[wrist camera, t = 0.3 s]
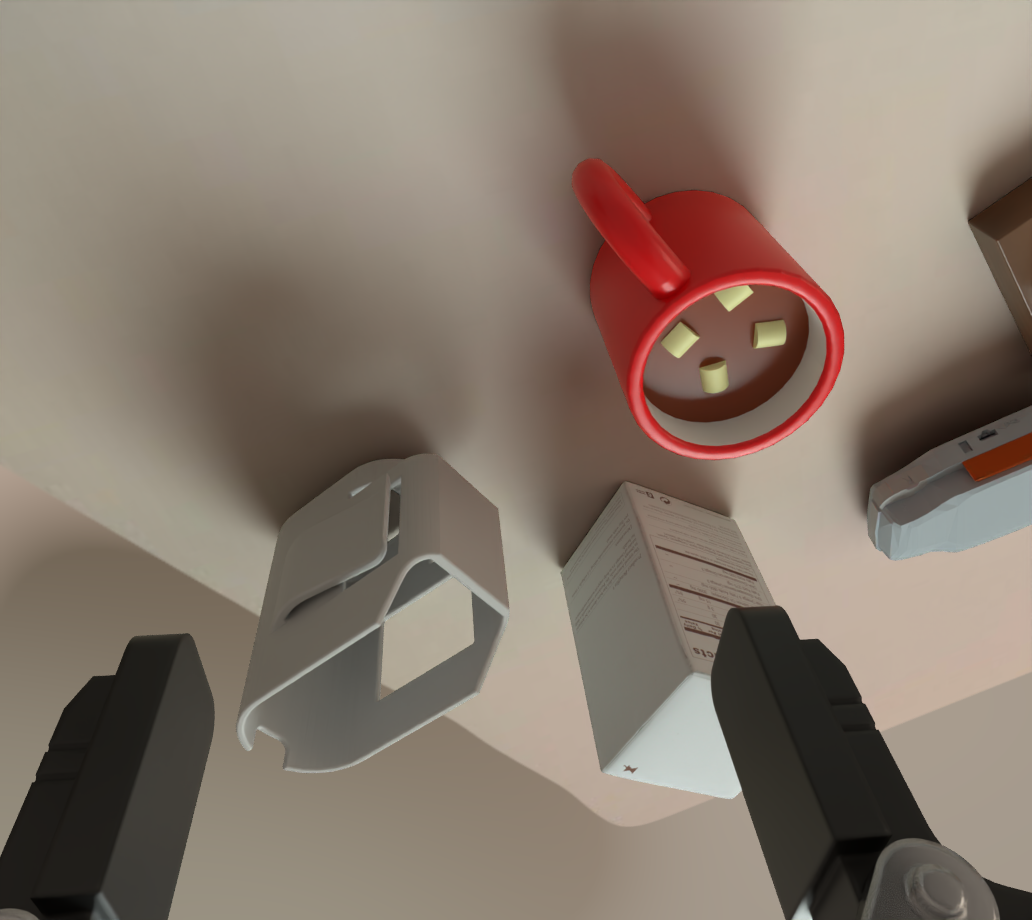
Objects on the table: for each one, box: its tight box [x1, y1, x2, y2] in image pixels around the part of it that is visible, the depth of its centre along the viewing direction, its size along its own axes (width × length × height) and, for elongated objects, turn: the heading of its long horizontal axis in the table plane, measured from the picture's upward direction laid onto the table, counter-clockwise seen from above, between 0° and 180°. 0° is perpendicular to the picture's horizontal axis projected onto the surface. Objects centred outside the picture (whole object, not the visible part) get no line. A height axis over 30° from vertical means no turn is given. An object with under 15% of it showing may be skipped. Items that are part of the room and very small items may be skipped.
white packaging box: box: [561, 481, 776, 799], centre depth 39 cm, size 7×7×13 cm
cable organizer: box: [236, 454, 510, 773], centre depth 35 cm, size 7×12×12 cm, turn 128°
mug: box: [572, 158, 844, 460], centre depth 30 cm, size 8×12×8 cm, turn 43°
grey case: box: [867, 406, 1032, 560], centre depth 40 cm, size 14×3×8 cm
